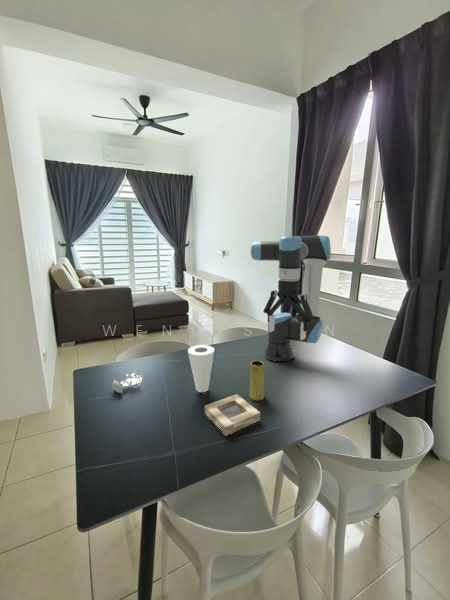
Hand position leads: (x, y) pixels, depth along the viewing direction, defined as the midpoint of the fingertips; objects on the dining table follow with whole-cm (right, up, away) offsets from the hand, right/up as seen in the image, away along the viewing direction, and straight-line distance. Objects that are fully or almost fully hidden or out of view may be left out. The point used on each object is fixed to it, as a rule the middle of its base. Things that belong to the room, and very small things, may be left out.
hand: (286, 335), depth 109 cm
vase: (-11, -25, +5) cm, 28 cm away
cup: (-33, -24, +10) cm, 42 cm away
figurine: (-64, -25, +12) cm, 70 cm away
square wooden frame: (-21, -28, -8) cm, 36 cm away
